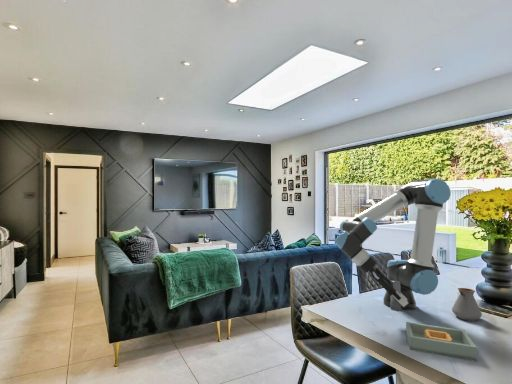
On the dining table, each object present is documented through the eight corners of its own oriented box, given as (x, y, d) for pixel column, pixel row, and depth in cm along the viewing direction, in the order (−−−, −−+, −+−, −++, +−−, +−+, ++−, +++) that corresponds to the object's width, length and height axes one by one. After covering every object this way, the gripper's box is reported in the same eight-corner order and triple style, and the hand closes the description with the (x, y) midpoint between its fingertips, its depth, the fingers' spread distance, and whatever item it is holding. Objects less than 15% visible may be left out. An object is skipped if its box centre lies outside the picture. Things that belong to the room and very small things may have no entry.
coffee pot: (454, 311, 150) (454, 280, 151) (483, 317, 143) (483, 285, 143) (445, 323, 134) (445, 289, 135) (477, 331, 127) (477, 294, 127)
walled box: (406, 333, 124) (406, 321, 124) (464, 342, 116) (464, 330, 117) (409, 349, 110) (409, 336, 110) (476, 361, 102) (476, 347, 103)
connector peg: (390, 307, 135) (390, 279, 135) (400, 308, 134) (400, 280, 134) (390, 310, 131) (390, 282, 132) (401, 311, 130) (400, 283, 130)
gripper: (358, 263, 146) (397, 302, 140) (356, 270, 131) (400, 315, 124) (370, 252, 145) (410, 292, 138) (370, 258, 129) (414, 303, 122)
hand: (405, 303), depth 131 cm, fingers closed on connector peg, 4 cm apart
